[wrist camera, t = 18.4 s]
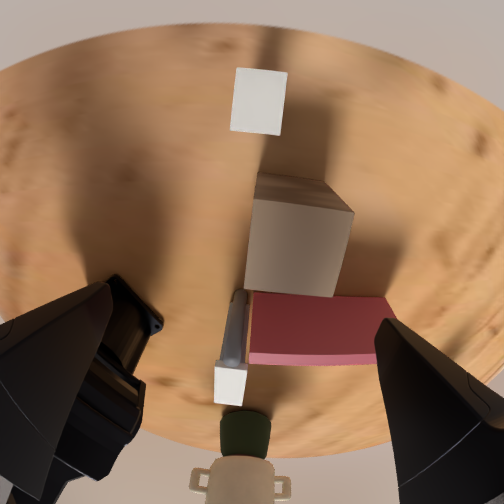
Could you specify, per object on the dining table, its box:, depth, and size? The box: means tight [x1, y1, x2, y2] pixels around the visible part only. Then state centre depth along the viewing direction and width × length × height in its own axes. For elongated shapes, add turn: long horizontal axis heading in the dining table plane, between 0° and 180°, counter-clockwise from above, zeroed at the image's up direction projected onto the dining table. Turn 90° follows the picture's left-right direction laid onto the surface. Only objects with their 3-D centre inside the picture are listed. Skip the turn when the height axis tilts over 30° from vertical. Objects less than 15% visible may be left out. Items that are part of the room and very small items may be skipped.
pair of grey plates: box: [214, 68, 287, 406], centre depth 17 cm, size 20×2×7 cm, turn 174°
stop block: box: [244, 172, 354, 297], centre depth 16 cm, size 4×4×7 cm
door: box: [249, 292, 397, 366], centre depth 19 cm, size 11×2×6 cm, turn 87°
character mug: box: [189, 411, 291, 504], centre depth 25 cm, size 11×7×13 cm, turn 80°
